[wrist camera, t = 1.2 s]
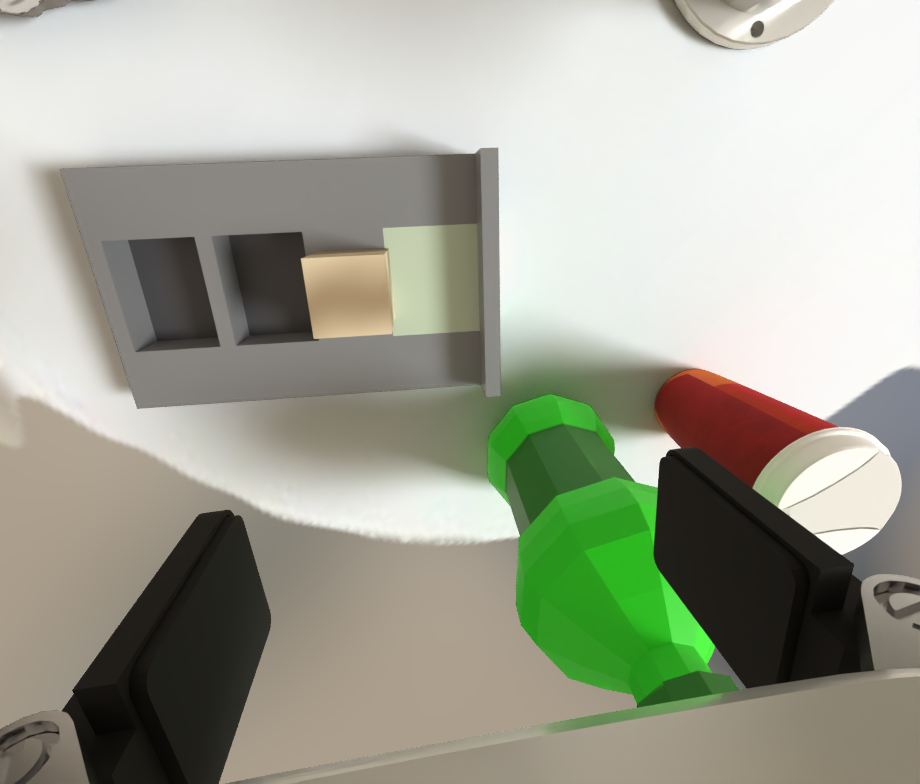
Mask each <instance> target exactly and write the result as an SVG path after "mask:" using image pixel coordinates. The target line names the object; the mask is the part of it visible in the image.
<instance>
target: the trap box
mask: <svg viewBox="0 0 920 784" xmlns="http://www.w3.org/2000/svg"><path fill="white" fill-rule="evenodd" d="M60 172H61V175H62V178H63V181H64V184H65V187H66V190H67V193H68V196H69V199H70V202H71V206H72V209H73V212H74V215H75V218H76V221H77V224H78V227H79V230H80V233H81V236H82V240H83V243H84V246H85V249H86V252H87V255H88V258H89V261H90V264H91V267H92V270H93V274H94V277H95V280H96V283H97V286H98V289H99V292H100V295H101V298H102V301H103V304H104V308H105V311H106V314H107V317H108V320H109V323H110V326H111V329H112V332H113V335H114V338H115V342H116V345H117V348H118V351H119V354H120V357H121V360H122V363H123V366H124V369H125V372H126V376H127V379H128V382H129V385H130V388H131V391H132V394H133V397H134V400H135V403H136V406H137V409H140V408H154V407H168V406H183V405H197V404H211V403H225V402H240V401H254V400H268V399H282V398H297V397H311V396H325V395H339V394H354V393H368V392H382V391H396V390H411V389H425V388H439V387H453V386H468V385H482V388H483V390H484V393H485V396H486V397H497V396H501V373H500V275H499V177H498V148H480V149H479V150H478V151H477V152H476V153H475V154H454V155H426V156H399V157H371V158H344V159H317V160H289V161H262V162H235V163H207V164H180V165H152V166H125V167H98V168H70V169H60ZM369 249H389V258H390V269H391V280H392V290H393V301H394V312H395V321H394V326H393V331H392V334H385V335H369V336H353V337H337V338H321V339H314V337H313V331H312V325H311V318H310V312H309V306H308V300H307V294H306V287H305V281H304V275H303V269H302V263H301V258H304V257H306V256H309V255H311V254H314V253H316V252H328V251H348V250H369Z"/></svg>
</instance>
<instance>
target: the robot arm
mask: <svg viewBox="0 0 920 784" xmlns="http://www.w3.org/2000/svg"><path fill="white" fill-rule="evenodd" d="M674 1H675V3H676V5H677V7H678V8H679V10H680V11H681V13H682V14H683V16H684V18H685V19H686V21H687V22H688V23H689V24H690V25H691V26H692V27H693V28H694V29H695V30H696V31H697V32H698V33H699V34H700V35H702V36H704V37H705V38H707V39H709V40H710V41H712V42H714V43H715V44H718V45H722V46H725V47H729V48H732V49H754V48H759V47H764V46H768V45H771V44H773V43H775V42H778V41H780V40H782V39H785V38H787V37H789V36H791V35H792V34H794V33H796V32H798V31H800V30H802V29H803V28H805V27H806V26H807V25H809V24H810V23H811V22H813V21H814V20H815V19H816V18H818V17H819V16H820V15H821V14H822V13H823V12H824V11H825V10H826V9H827V8H828V7H829V6H830V5H831V4H832V2H833V1H834V0H674ZM653 555H654V561H655V564H656V566H657V568H658V570H659V571H660V573H661V574H662V575H663V577H664V578H665V579H666V581H667V582H668V583H669V585H670V586H671V587H672V589H673V590H674V591H675V593H676V594H677V595H678V597H679V598H680V600H681V601H682V602H683V604H684V605H685V606H686V608H687V609H688V610H689V612H690V613H691V614H692V616H693V617H694V618H695V620H696V621H697V622H698V624H699V625H700V626H701V628H702V629H703V630H704V632H705V633H706V634H707V636H708V637H709V638H710V640H711V641H712V643H713V644H714V645H715V647H716V648H717V649H718V650H719V652H720V653H721V655H722V656H723V657H724V659H725V660H726V661H727V663H728V664H729V665H730V667H731V668H732V669H733V671H734V672H735V673H736V675H737V676H738V677H739V679H740V680H741V681H742V683H743V684H744V685H745V687H746V688H747V689H742V690H737V691H731V692H725V693H719V694H713V695H708V696H702V697H696V698H690V699H685V700H679V701H673V702H667V703H662V704H656V705H650V706H644V707H638V708H633V709H627V710H622V711H616V712H610V713H604V714H599V715H593V716H587V717H582V718H576V719H571V720H565V721H560V722H554V723H549V724H543V725H538V726H531V727H526V728H520V729H515V730H510V731H504V732H498V733H493V734H487V735H482V736H476V737H471V738H465V739H459V740H454V741H448V742H443V743H437V744H432V745H426V746H421V747H416V748H410V749H406V750H400V751H394V752H389V753H384V754H378V755H373V756H367V757H362V758H356V759H351V760H346V761H340V762H335V763H330V764H324V765H319V766H314V767H308V768H303V769H297V770H292V771H287V772H282V773H276V774H271V775H266V776H261V777H256V778H251V779H246V780H241V781H236V782H231V783H227V784H920V580H918V579H915V578H912V577H906V576H901V575H895V574H879V575H875V576H871V577H868V578H867V579H866V580H865V581H863V582H861V581H860V580H859V579H857V578H856V577H855V576H853V575H852V571H853V567H854V564H853V563H851V562H850V561H849V560H847V559H846V558H845V557H843V556H842V555H841V554H839V553H838V552H837V551H835V550H834V549H833V548H831V547H830V546H829V545H827V544H826V543H825V542H823V541H822V540H821V539H819V538H818V537H817V536H815V535H814V534H813V533H811V532H810V531H809V530H807V529H806V528H805V527H803V526H802V525H801V524H799V523H798V522H797V521H795V520H794V519H793V518H791V517H790V516H789V515H787V514H786V513H785V512H783V511H782V510H781V509H779V508H778V507H777V506H775V505H774V504H773V503H771V502H770V501H769V500H767V499H766V498H765V497H763V496H762V495H761V494H759V493H758V492H757V491H755V490H754V489H753V488H751V487H750V486H748V485H747V484H746V483H744V482H743V481H742V480H740V479H739V478H738V477H736V476H735V475H734V474H732V473H731V472H730V471H728V470H727V469H726V468H724V467H723V466H722V465H720V464H719V463H718V462H716V461H715V460H714V459H712V458H711V457H710V456H708V455H707V454H706V453H704V452H703V451H702V450H700V449H699V448H697V447H688V448H680V449H673V450H669V451H668V452H667V454H666V457H663V458H661V460H660V465H659V479H658V493H657V508H656V522H655V536H654V551H653ZM270 624H271V614H270V610H269V606H268V603H267V599H266V596H265V593H264V589H263V586H262V583H261V579H260V576H259V572H258V569H257V566H256V562H255V559H254V556H253V552H252V548H251V545H250V542H249V538H248V535H247V531H246V528H245V525H244V522H243V519H242V518H241V516H239V515H237V516H234V514H233V513H232V512H231V511H230V510H224V511H216V512H209V513H202V514H199V515H198V516H197V517H196V519H195V520H194V522H193V523H192V524H191V526H190V527H189V528H188V530H187V531H186V533H185V534H184V535H183V537H182V538H181V540H180V541H179V542H178V544H177V545H176V547H175V548H174V549H173V551H172V552H171V554H170V555H169V556H168V558H167V559H166V561H165V562H164V563H163V565H162V566H161V568H160V569H159V571H158V572H157V573H156V574H155V576H154V578H153V579H152V580H151V582H150V583H149V584H148V586H147V587H146V588H145V590H144V591H143V593H142V594H141V595H140V597H139V598H138V600H137V601H136V603H135V604H134V605H133V607H132V608H131V609H130V611H129V612H128V613H127V615H126V616H125V618H124V619H123V620H122V622H121V623H120V625H119V626H118V628H117V629H116V630H115V632H114V633H113V634H112V636H111V637H110V639H109V640H108V641H107V643H106V644H105V646H104V647H103V648H102V650H101V651H100V653H99V654H98V655H97V657H96V658H95V659H94V661H93V662H92V664H91V665H90V666H89V668H88V669H87V671H86V672H85V673H84V675H83V676H82V678H81V679H80V680H79V682H78V683H77V685H76V686H75V687H74V689H73V690H72V691H73V693H74V694H73V696H72V697H71V699H70V700H69V701H68V703H67V704H66V706H65V707H64V708H63V710H62V711H59V710H50V711H41V712H38V713H35V714H32V715H29V716H26V717H23V718H21V719H19V720H17V721H15V722H13V723H11V724H9V725H7V726H5V727H3V728H1V729H0V784H219V781H220V777H221V775H222V772H223V769H224V766H225V762H226V760H227V757H228V753H229V751H230V748H231V745H232V742H233V739H234V736H235V733H236V730H237V727H238V724H239V721H240V718H241V715H242V712H243V709H244V706H245V703H246V700H247V697H248V694H249V691H250V688H251V685H252V682H253V679H254V676H255V673H256V670H257V667H258V664H259V661H260V658H261V655H262V652H263V649H264V646H265V643H266V640H267V637H268V634H269V631H270V626H271V625H270Z"/></svg>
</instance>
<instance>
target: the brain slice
mask: <svg viewBox="0 0 920 784" xmlns="http://www.w3.org/2000/svg"><path fill="white" fill-rule="evenodd" d="M70 1H90V0H0V12H2V13H5V14H11V15H18V16H30V17H39V16H40V15H41V14H42V11H44V10H48V9H53V8H57V7H61V6H65V5H66V4H67V3H69V2H70Z"/></svg>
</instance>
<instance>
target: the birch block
mask: <svg viewBox="0 0 920 784" xmlns="http://www.w3.org/2000/svg"><path fill="white" fill-rule="evenodd" d="M301 263H302V269H303V275H304V281H305V287H306V294H307V300H308V306H309V312H310V318H311V325H312V331H313V337H314V339H321V338H337V337H353V336H369V335H385V334H392V331H393V326H394V321H395V312H394V301H393V290H392V280H391V269H390V258H389V249H369V250H348V251H328V252H316V253H314V254H311V255H309V256H306V257H304V258H301Z"/></svg>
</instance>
